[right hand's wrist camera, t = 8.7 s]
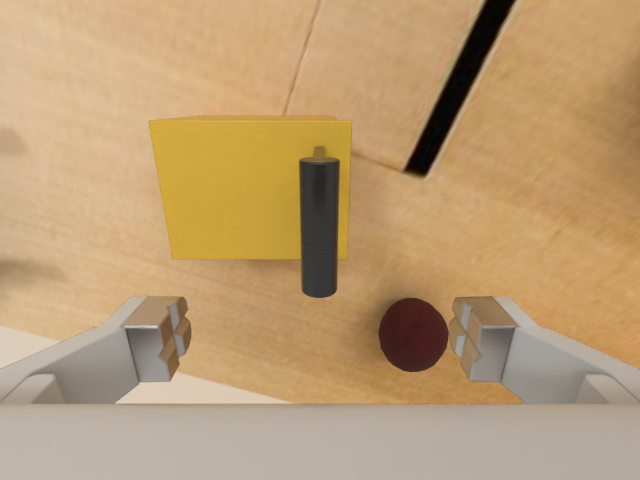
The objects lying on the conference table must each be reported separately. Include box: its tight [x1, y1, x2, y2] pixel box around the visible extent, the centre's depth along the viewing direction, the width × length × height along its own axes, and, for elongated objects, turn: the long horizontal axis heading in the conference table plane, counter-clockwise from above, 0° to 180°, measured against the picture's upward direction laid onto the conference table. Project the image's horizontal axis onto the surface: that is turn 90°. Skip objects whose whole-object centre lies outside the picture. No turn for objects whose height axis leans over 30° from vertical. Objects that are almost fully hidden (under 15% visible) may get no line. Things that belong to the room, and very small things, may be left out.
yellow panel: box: [149, 120, 352, 298], centre depth 21 cm, size 14×10×9 cm
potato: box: [379, 298, 448, 372], centre depth 37 cm, size 7×8×7 cm
